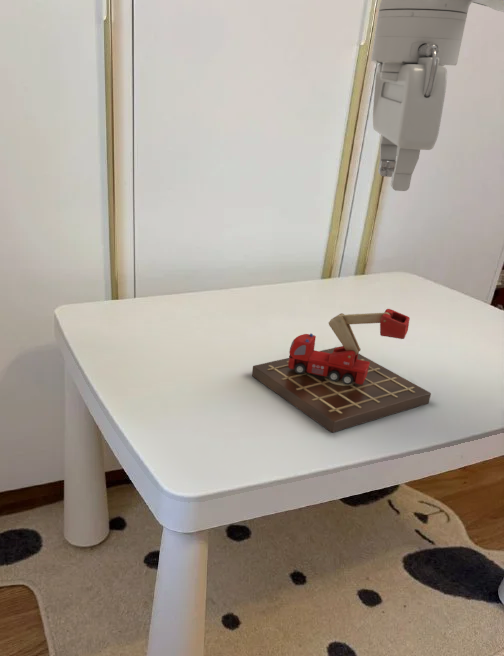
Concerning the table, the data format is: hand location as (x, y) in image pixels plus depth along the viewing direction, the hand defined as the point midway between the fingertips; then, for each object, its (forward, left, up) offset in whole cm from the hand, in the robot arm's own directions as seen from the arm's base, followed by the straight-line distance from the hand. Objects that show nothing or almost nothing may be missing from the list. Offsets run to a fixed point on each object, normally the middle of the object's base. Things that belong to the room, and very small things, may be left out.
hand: (391, 182), depth 73 cm
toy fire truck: (-2, +5, -24) cm, 24 cm away
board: (-2, +5, -25) cm, 26 cm away
